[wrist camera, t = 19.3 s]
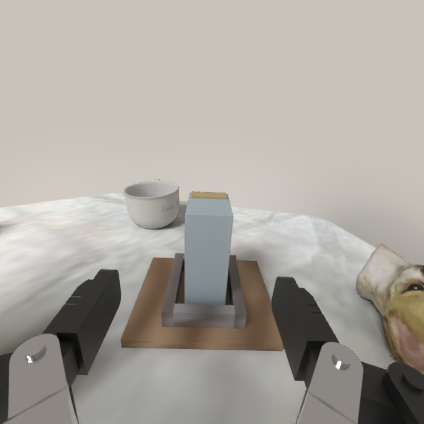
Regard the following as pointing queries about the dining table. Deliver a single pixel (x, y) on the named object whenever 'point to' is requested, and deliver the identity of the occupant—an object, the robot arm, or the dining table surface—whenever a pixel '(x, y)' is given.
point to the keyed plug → (207, 247)
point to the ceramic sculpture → (397, 302)
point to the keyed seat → (202, 312)
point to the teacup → (152, 203)
